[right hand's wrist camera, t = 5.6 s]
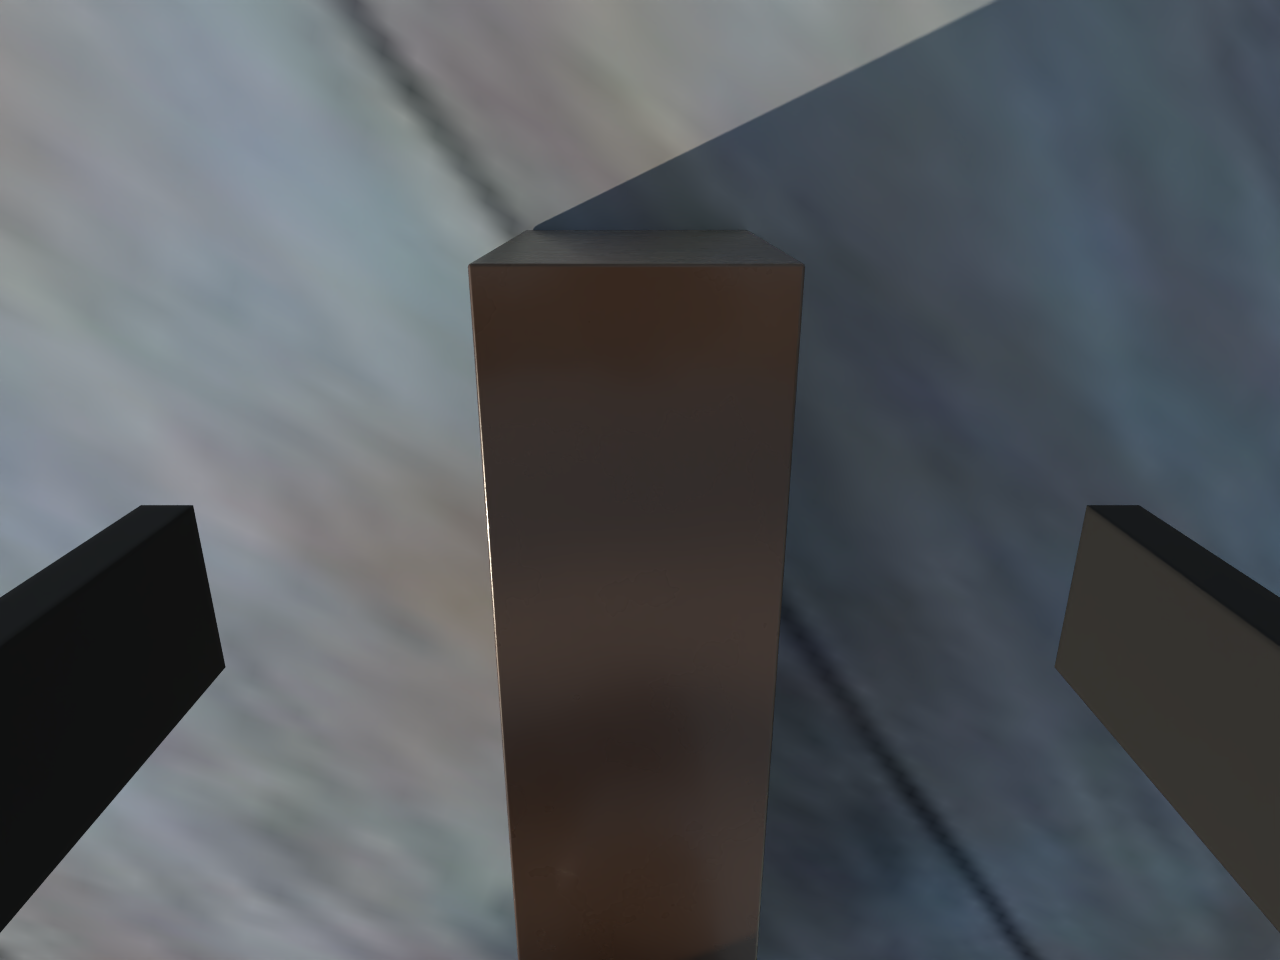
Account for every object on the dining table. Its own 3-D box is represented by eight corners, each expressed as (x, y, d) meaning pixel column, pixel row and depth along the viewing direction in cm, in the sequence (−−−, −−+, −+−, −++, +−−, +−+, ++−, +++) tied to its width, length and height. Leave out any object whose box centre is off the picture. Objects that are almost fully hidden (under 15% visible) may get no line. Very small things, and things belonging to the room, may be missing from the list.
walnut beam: (524, 230, 22) (467, 264, 15) (748, 230, 22) (805, 263, 15) (566, 1116, 35) (547, 1375, 27) (708, 1116, 35) (728, 1375, 27)
